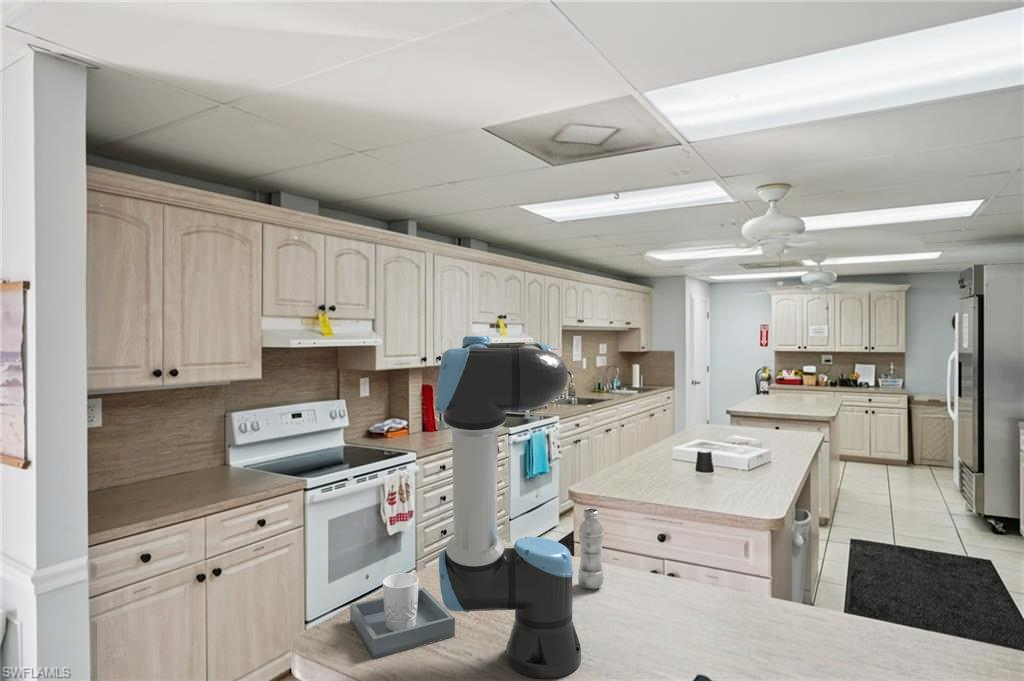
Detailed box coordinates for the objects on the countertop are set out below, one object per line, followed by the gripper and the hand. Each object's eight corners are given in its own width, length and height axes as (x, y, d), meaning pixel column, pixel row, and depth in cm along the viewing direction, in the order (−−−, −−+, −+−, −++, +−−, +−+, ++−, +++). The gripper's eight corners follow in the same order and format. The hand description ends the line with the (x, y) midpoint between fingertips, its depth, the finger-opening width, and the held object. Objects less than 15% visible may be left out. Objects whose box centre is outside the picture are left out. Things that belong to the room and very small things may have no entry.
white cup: (422, 617, 135) (422, 573, 135) (413, 634, 127) (413, 588, 127) (388, 615, 136) (388, 572, 136) (378, 633, 128) (378, 587, 128)
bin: (454, 636, 128) (454, 617, 128) (373, 659, 119) (373, 639, 119) (424, 603, 144) (424, 587, 144) (350, 621, 135) (350, 604, 135)
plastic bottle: (573, 584, 155) (573, 508, 154) (595, 580, 157) (595, 505, 157) (586, 594, 149) (586, 515, 149) (608, 589, 152) (608, 512, 151)
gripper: (512, 397, 147) (512, 482, 148) (468, 389, 169) (469, 463, 169) (485, 399, 144) (486, 486, 144) (444, 391, 165) (445, 466, 165)
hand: (476, 474), depth 156 cm, fingers open, 13 cm apart
